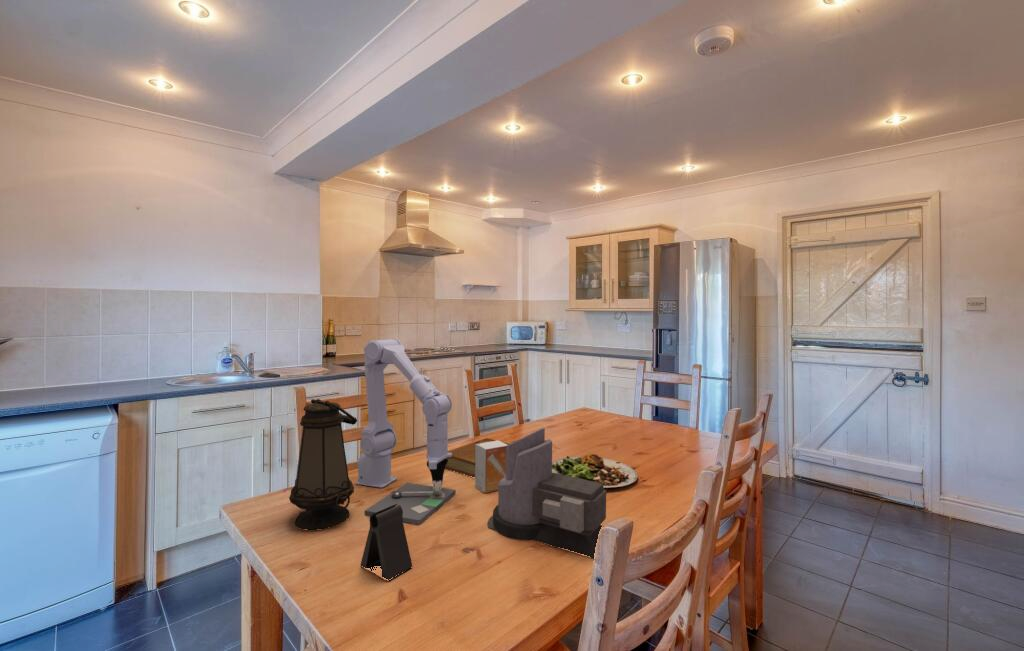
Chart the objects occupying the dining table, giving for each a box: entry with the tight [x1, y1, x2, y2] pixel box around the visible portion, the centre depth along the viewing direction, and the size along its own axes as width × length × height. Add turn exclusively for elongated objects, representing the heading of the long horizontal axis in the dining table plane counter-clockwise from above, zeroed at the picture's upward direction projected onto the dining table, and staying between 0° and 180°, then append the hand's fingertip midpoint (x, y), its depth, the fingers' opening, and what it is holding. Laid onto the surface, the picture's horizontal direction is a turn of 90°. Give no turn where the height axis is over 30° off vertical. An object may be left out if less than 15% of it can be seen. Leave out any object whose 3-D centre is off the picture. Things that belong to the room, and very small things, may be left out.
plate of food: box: [552, 452, 639, 489], centre depth 142 cm, size 28×28×6 cm
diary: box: [445, 438, 510, 478], centre depth 152 cm, size 23×19×6 cm
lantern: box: [289, 398, 358, 531], centre depth 111 cm, size 18×15×30 cm
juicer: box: [486, 427, 607, 560], centre depth 106 cm, size 30×16×24 cm, turn 58°
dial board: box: [364, 482, 456, 526], centre depth 120 cm, size 16×20×1 cm
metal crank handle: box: [391, 479, 443, 498], centre depth 122 cm, size 14×3×4 cm, turn 94°
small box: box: [474, 439, 507, 494], centre depth 132 cm, size 8×6×13 cm
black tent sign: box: [360, 504, 413, 580], centre depth 90 cm, size 9×6×12 cm, turn 53°
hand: (437, 486), depth 124 cm, fingers closed, pressing on metal crank handle
